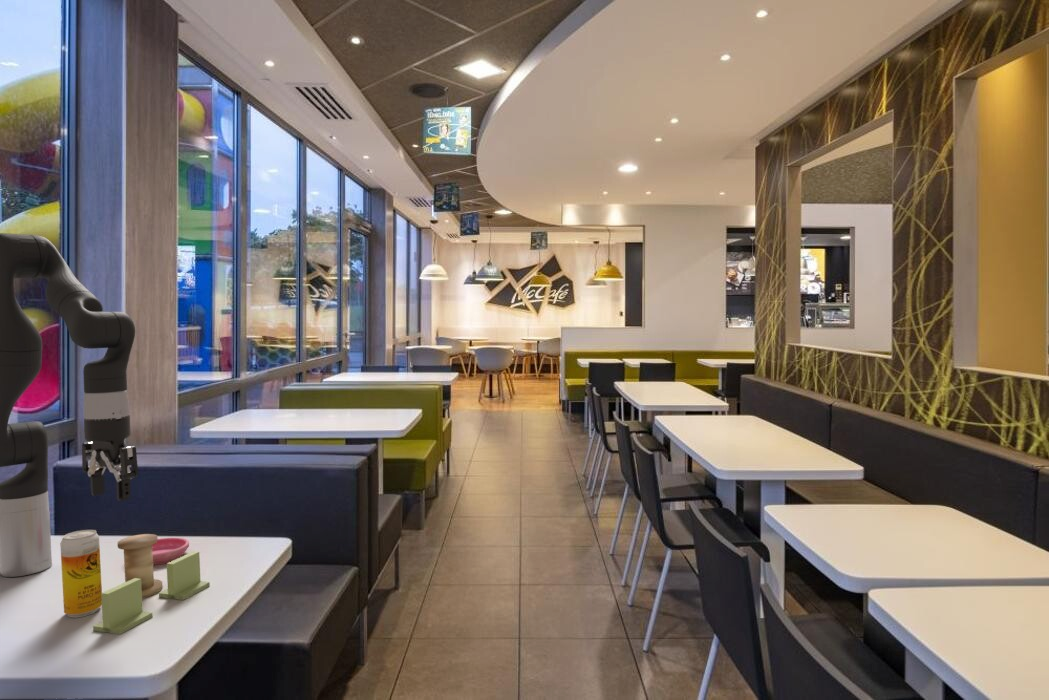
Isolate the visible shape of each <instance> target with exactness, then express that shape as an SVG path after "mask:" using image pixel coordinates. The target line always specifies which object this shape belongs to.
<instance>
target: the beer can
mask: <svg viewBox="0 0 1049 700" xmlns="http://www.w3.org/2000/svg"><path fill="white" fill-rule="evenodd" d="M100 548H101V547H100V536H99V534H98V533H97V530H96V529H80V530H76V531H72V532H68V533H66V534H65V535H63V536H62V538H61V542H60V560H61V581H62V597H63V599H62V602H63V613H64V614H65V615H67V616H68V618H82V617H86V616H89V615H93V614H94V613H95V614H96V612H98V611H99V610H100V607H102V597H101V593H103V591H102V589H103V587H102V585H103V584H102V569H101V566H102V565H101V549H100Z"/></svg>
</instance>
